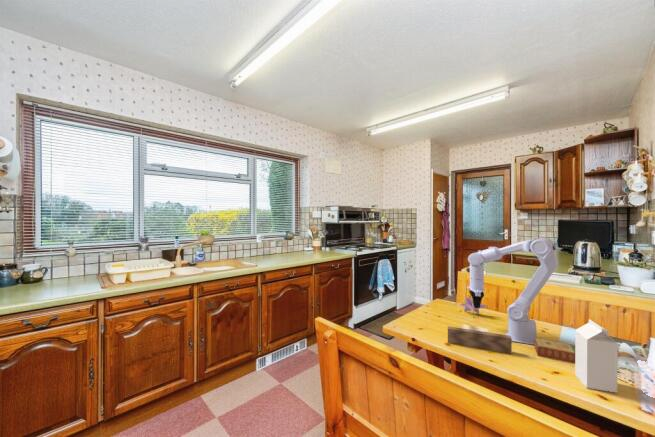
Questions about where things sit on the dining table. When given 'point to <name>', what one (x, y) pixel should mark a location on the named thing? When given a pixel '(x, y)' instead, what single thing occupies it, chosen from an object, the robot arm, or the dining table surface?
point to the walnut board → (480, 339)
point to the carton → (555, 350)
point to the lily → (471, 305)
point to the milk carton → (596, 357)
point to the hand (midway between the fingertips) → (476, 307)
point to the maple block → (474, 328)
